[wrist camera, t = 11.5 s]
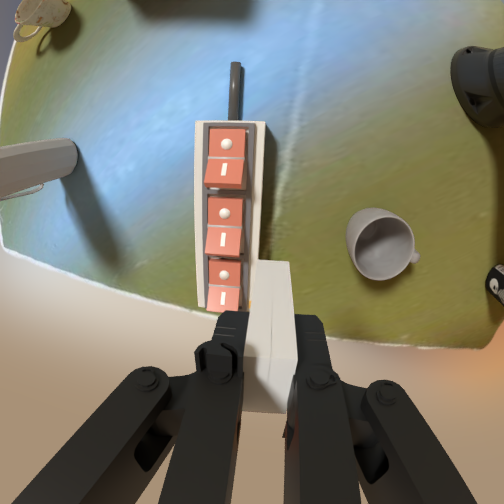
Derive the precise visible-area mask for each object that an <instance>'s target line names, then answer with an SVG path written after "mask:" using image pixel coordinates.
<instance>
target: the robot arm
mask: <svg viewBox="0 0 504 504" xmlns="http://www.w3.org/2000/svg"><path fill="white" fill-rule="evenodd" d="M451 79H452V84H453V87H454V91H455V93H456V96H457V98H458V100H459V102H460V104H461V106H462V107H463V109H464V110H465V112H466V113H467V114H468V115H469V116H470V117H471V118H472V119H473V120H474V121H475V122H476V123H478V124H479V125H481V126H484V127H491V128H498V127H502V126H504V47H503V48H499V49H495V50H493V49H488V48H483V47H477V46H468V47H465V48H462V49H460V50H458V51H457V52H456V53H455V54H454V56H453V58H452V62H451ZM324 333H325V332H324V327H323V323H322V322H321V321H320V320H319V318H318V317H317V316H316V315H301V314H294V308H293V298H292V287H291V278H290V268H289V262H286V261H271V260H257V265H256V272H255V279H254V286H253V293H252V300H251V307H250V312H242V311H230V310H225V311H224V312H223V313H222V314H221V315H220V316H219V317H218V320H217V323H216V328H215V330H214V334H213V337H212V340H211V341H207V342H205V343H203V344H201V345H200V346H198V347H197V349H196V350H195V352H194V354H195V362H196V370H197V371H196V372H194V373H192V374H189V375H185V376H175V377H168V376H167V374H166V373H165V372H164V371H162V370H161V369H159V368H156V367H152V366H149V367H141V368H138V369H135V370H134V371H133V372H131V373H130V374H129V375H128V376H127V377H126V378H125V379H124V380H123V381H122V382H121V383H120V385H119V386H118V387H117V388H116V389H115V390H114V391H113V392H112V393H111V394H110V395H109V396H108V398H107V399H106V400H105V401H104V402H103V403H102V404H101V405H100V406H99V407H98V408H97V410H96V411H95V412H94V413H93V414H92V415H91V416H90V417H89V418H88V419H87V420H86V422H85V423H84V424H83V425H82V426H81V427H80V428H79V429H78V430H77V431H76V432H75V434H74V435H73V436H72V437H71V438H70V439H69V440H68V441H67V442H66V443H65V445H64V446H63V447H62V448H61V449H60V450H59V451H58V452H57V453H56V454H55V456H54V457H53V458H52V459H51V460H50V461H49V462H48V463H47V464H46V466H45V467H44V468H43V469H42V470H41V471H40V472H39V473H38V475H37V476H36V477H35V478H34V479H33V480H32V481H31V482H30V483H29V485H28V486H27V487H26V488H25V489H24V490H23V491H22V492H21V493H20V495H19V496H18V497H17V498H16V499H15V500H14V501H13V503H12V504H135V503H136V501H137V500H138V499H139V497H140V496H141V494H142V493H143V491H144V490H145V488H146V487H147V485H148V484H149V482H150V481H151V479H152V478H153V476H154V475H155V473H156V472H157V470H158V469H159V467H160V466H161V464H162V463H163V461H164V460H165V458H166V457H167V455H168V454H169V452H170V450H171V449H172V447H173V446H174V444H175V446H174V450H173V453H172V456H171V460H170V463H169V467H168V470H167V474H166V477H165V481H164V484H163V488H162V491H161V495H160V498H159V502H158V504H230V503H231V497H232V490H233V481H234V474H235V466H236V459H237V451H238V444H239V436H240V428H241V414H242V411H248V412H262V413H281V414H285V413H286V410H287V421H286V426H285V429H284V433H283V436H282V437H283V438H285V475H284V504H361V497H360V489H359V483H360V485H361V487H362V490H363V492H364V494H365V497H366V499H367V501H368V503H369V504H477V502H476V501H475V499H474V497H473V495H472V494H471V492H470V490H469V489H468V487H467V485H466V484H465V482H464V480H463V479H462V477H461V475H460V474H459V472H458V471H457V469H456V467H455V466H454V464H453V462H452V461H451V459H450V458H449V456H448V455H447V453H446V451H445V450H444V448H443V447H442V445H441V444H440V442H439V441H438V439H437V437H436V436H435V435H434V433H433V432H432V430H431V428H430V427H429V425H428V424H427V423H426V421H425V419H424V418H423V416H422V415H421V414H420V412H419V411H418V409H417V408H416V406H415V405H414V403H413V402H412V400H411V399H410V398H409V396H408V395H407V393H406V392H405V390H404V389H403V388H402V387H401V386H400V385H399V384H396V383H395V382H393V381H389V380H377V381H375V382H373V383H371V384H370V386H369V387H368V388H362V387H357V386H353V385H350V384H347V383H345V382H343V381H341V380H340V378H339V376H338V374H337V373H336V372H334V371H333V369H332V366H331V360H330V355H329V351H328V346H327V341H326V336H325V334H324Z"/></svg>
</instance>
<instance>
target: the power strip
mask: <svg viewBox="0 0 504 504" xmlns="http://www.w3.org/2000/svg"><path fill="white" fill-rule="evenodd" d="M240 71H241V63H240V62H231V69H230V87H229V108H228V121H195V161H194V207H195V250H196V274H197V293H198V307H205V308H207V302H208V293H209V260H210V258H214V259H228V260H241V289H240V297H239V308H238V311H242V312H247V311H250V307H251V300H252V293H253V286H254V279H255V272H256V265H257V260H259V245H260V227H261V209H262V190H263V171H264V151H265V131H266V123H265V122H262V121H238V112H239V91H240ZM210 129H245V130H246V144H245V164H244V171H243V180H242V188H241V189H236V188H209V187H205V185H204V179H205V174H206V169H207V164H208V156H209V140H210ZM210 196H212V197H235V198H243V220H242V221H243V224H242V225H243V229H242V235H241V246H240V257H226V256H212V255H206V254H205V247H206V239H207V231H208V228H207V224H208V198H209V197H210Z"/></svg>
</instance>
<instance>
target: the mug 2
mask: <svg viewBox="0 0 504 504" xmlns="http://www.w3.org/2000/svg"><path fill="white" fill-rule="evenodd" d="M346 244H347V249H348V252H349V255H350V257H351V259H352V261H353V263H354V265H355V266H356V268H357V269H358V270H359V272H360V273H361V274H362V275H364V276H365V277H367V278H369V279H372V280H386V279H390V278H392V277H395V276H396V275H398V274H399V273H401V272H402V271H403V270H404V269H405V268H406V266H407V265H408V264H409V262H411V263H414V264H415V263H417V262H418V261H419V259H420V254H419V253H418V252H417V251H416V250H415V249H414V246H415V241H414V235H413V232H412V230H411V228H410V226H409V225H408V224H407V223H406V222H405V221H404V220H403V219H402V218H400V217H399V216H397V215H395V214H394V213H392V212H390V211H387V210H384V209H380V208H366V209H363V210H361V211H358V212H356V213H355V214H354V215H353V216H352V217H351V219H350V220H349V223H348V225H347V229H346Z"/></svg>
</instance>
